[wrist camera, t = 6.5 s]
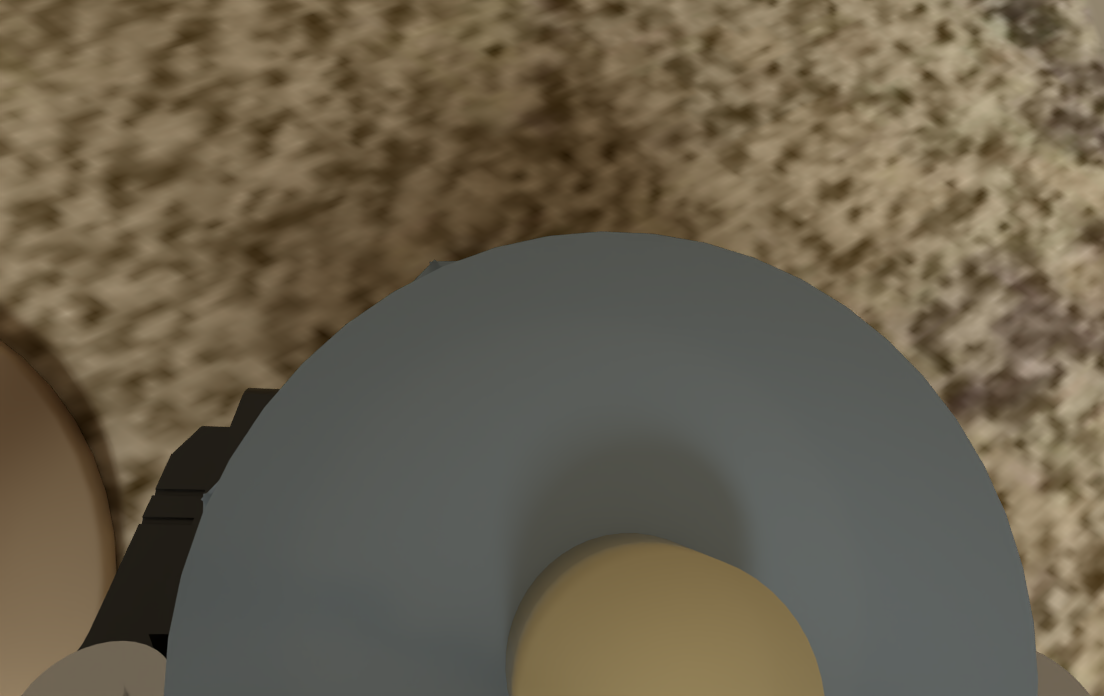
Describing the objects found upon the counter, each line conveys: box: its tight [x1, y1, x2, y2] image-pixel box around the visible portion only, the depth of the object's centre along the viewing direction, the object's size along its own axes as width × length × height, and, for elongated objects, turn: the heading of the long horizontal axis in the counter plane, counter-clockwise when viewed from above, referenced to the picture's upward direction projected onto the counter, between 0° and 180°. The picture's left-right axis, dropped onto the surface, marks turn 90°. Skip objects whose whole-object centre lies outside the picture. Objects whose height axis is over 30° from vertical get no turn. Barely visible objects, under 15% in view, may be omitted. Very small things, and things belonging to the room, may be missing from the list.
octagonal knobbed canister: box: [164, 232, 1038, 696], centre depth 10 cm, size 6×6×11 cm
